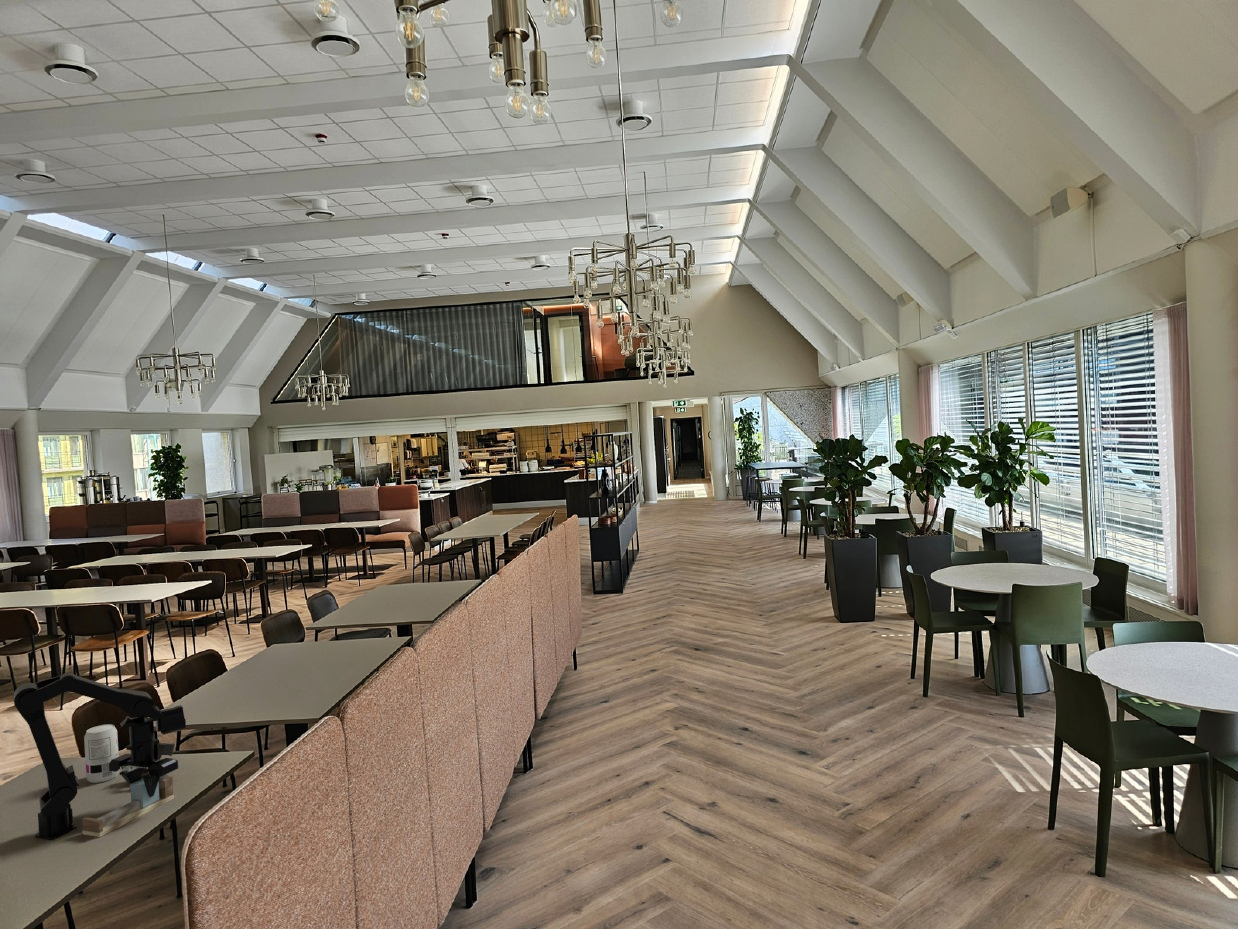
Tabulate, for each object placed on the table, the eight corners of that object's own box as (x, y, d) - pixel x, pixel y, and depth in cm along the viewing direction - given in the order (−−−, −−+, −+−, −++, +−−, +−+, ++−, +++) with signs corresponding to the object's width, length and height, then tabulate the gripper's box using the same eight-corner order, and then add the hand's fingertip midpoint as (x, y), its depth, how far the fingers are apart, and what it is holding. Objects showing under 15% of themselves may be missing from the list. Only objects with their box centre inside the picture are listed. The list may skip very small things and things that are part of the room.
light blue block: (143, 807, 207) (142, 785, 207) (131, 806, 208) (130, 784, 208) (159, 799, 212) (158, 778, 212) (147, 798, 213) (146, 776, 213)
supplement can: (79, 782, 229) (77, 732, 228) (105, 771, 237) (103, 722, 236) (100, 785, 226) (97, 734, 226) (126, 773, 234) (123, 724, 234)
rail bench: (100, 837, 194) (98, 813, 194) (82, 834, 196) (81, 810, 196) (175, 797, 216) (174, 775, 216) (159, 795, 218) (158, 773, 218)
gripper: (193, 731, 215) (196, 786, 215) (142, 726, 220) (145, 780, 221) (158, 746, 204) (161, 804, 204) (106, 740, 210) (109, 797, 210)
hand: (145, 795), depth 210 cm, fingers closed on light blue block, 4 cm apart
